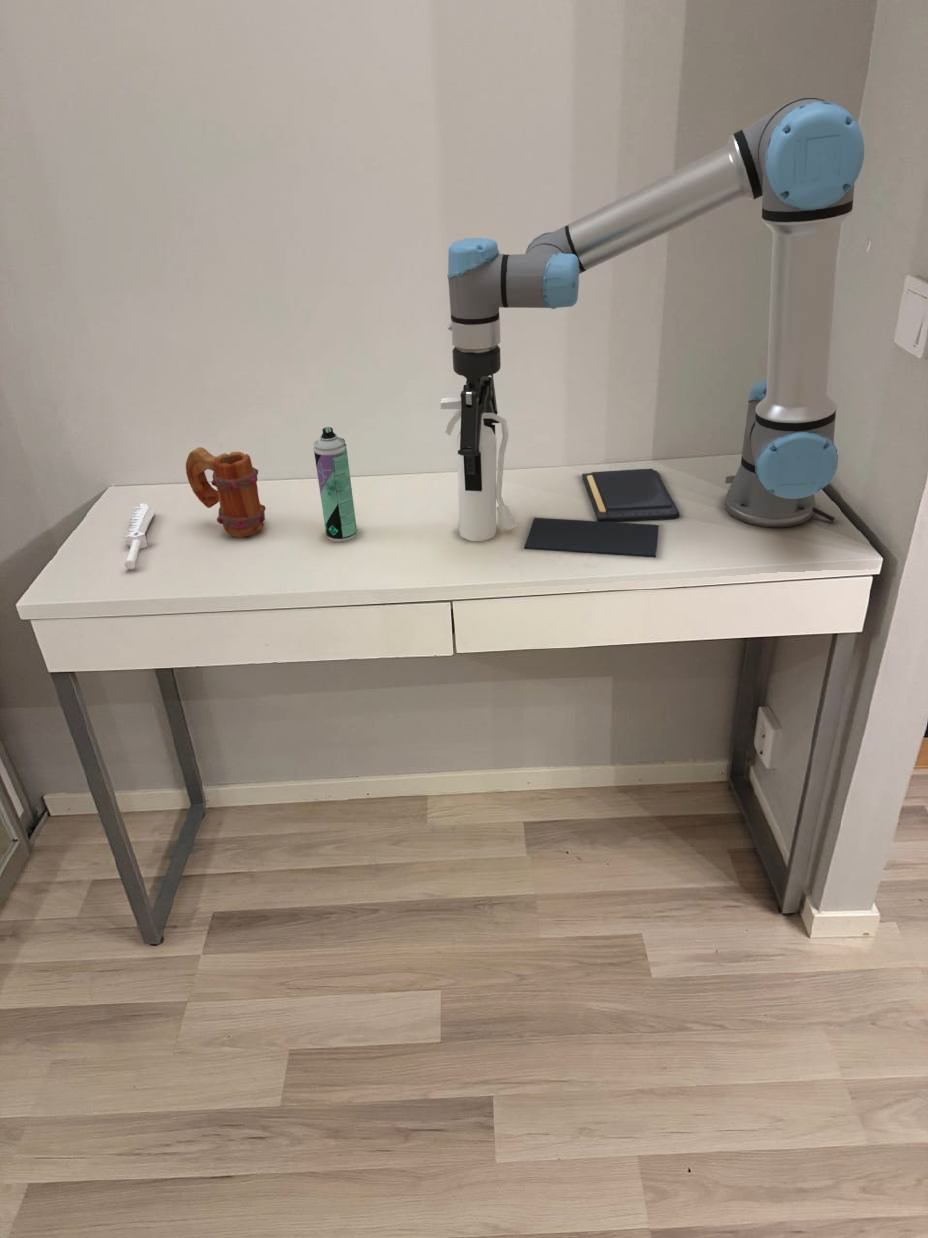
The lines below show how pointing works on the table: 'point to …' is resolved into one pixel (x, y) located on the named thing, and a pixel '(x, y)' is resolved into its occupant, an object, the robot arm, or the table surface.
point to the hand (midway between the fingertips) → (481, 474)
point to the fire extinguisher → (481, 505)
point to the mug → (228, 489)
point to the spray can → (335, 487)
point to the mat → (593, 537)
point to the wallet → (629, 495)
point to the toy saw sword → (138, 532)
